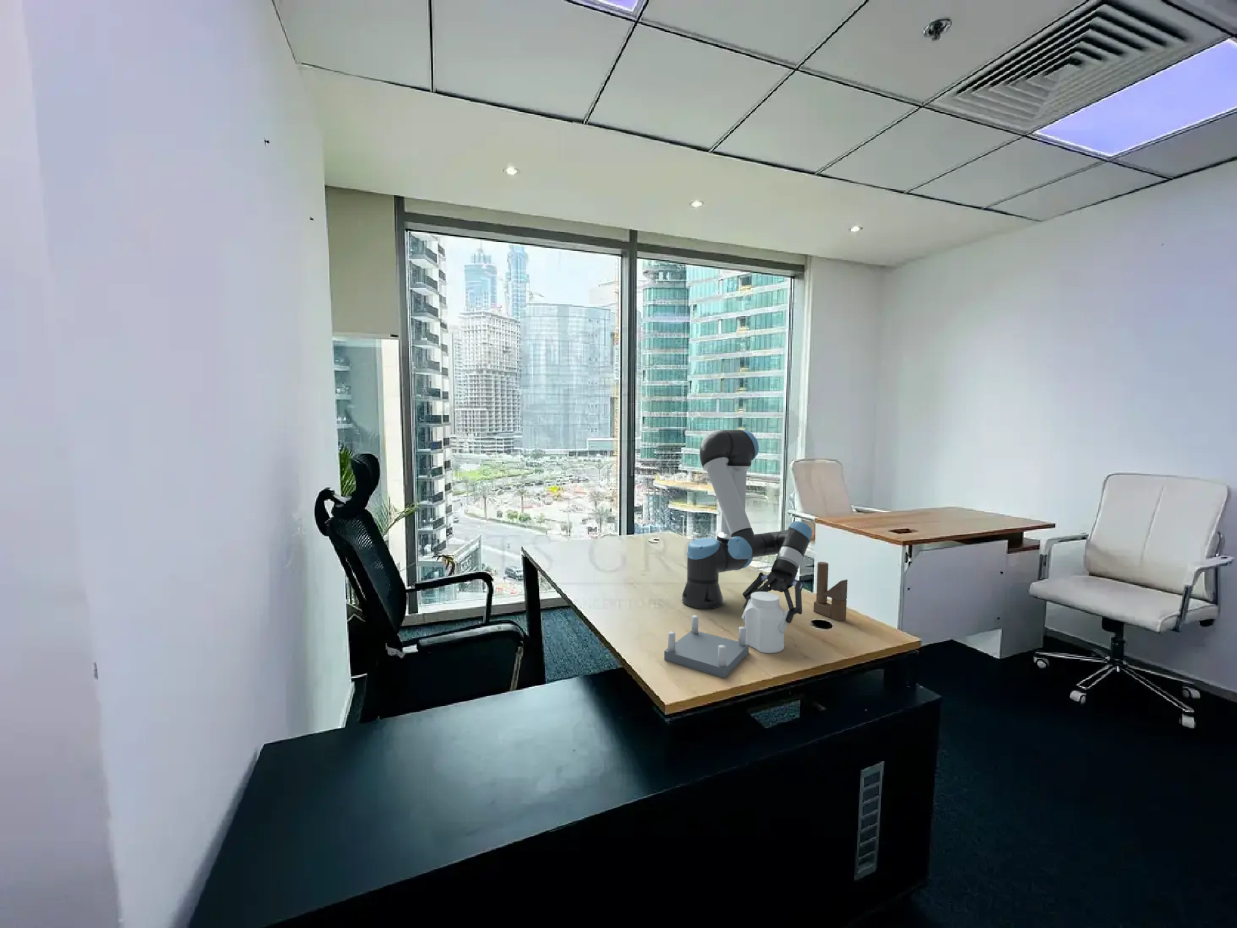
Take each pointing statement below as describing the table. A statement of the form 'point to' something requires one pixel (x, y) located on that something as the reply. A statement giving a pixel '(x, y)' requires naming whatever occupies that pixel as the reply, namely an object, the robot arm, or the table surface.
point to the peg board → (707, 651)
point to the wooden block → (830, 595)
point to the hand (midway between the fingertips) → (761, 625)
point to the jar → (764, 623)
